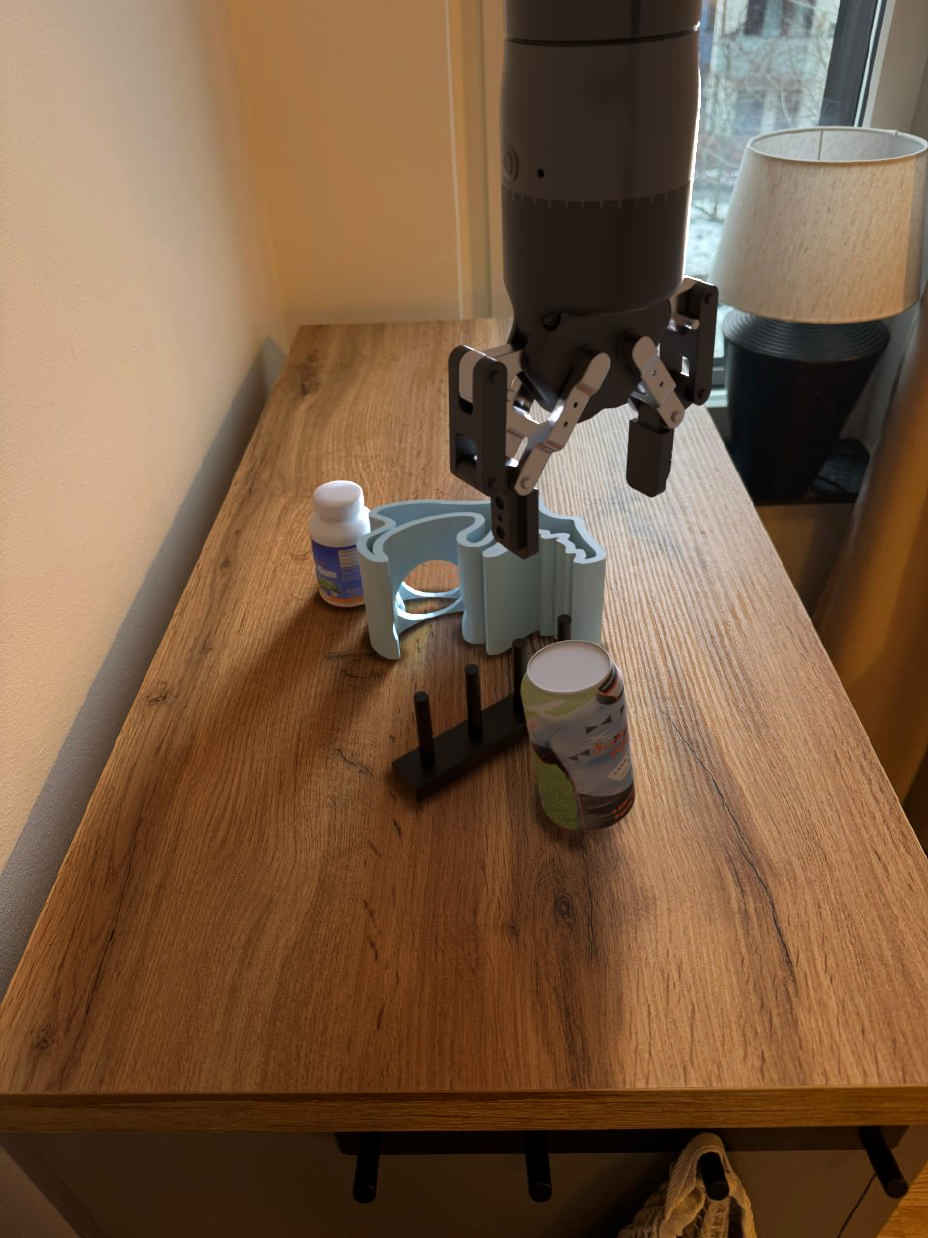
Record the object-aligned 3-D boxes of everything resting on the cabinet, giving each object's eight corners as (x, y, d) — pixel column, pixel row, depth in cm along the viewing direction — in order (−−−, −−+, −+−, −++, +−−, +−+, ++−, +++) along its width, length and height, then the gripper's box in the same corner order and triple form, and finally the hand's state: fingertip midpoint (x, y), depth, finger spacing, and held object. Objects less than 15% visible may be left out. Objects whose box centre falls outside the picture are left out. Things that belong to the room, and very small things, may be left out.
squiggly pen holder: (584, 583, 78) (588, 489, 72) (602, 661, 70) (608, 562, 64) (372, 596, 78) (359, 503, 72) (368, 675, 70) (353, 577, 64)
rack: (596, 696, 67) (601, 616, 63) (417, 803, 60) (407, 723, 56) (569, 674, 69) (571, 596, 65) (392, 776, 62) (381, 697, 58)
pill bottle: (309, 584, 80) (291, 488, 74) (365, 564, 82) (352, 468, 76) (335, 617, 76) (318, 518, 70) (393, 595, 78) (381, 496, 72)
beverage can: (621, 855, 57) (634, 717, 49) (508, 824, 59) (504, 687, 51) (643, 781, 61) (659, 644, 53) (537, 754, 63) (538, 620, 56)
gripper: (516, 225, 30) (523, 611, 40) (792, 148, 37) (738, 498, 47) (392, 187, 35) (425, 540, 45) (654, 124, 42) (633, 447, 52)
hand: (584, 518), depth 46 cm, fingers open, 8 cm apart
